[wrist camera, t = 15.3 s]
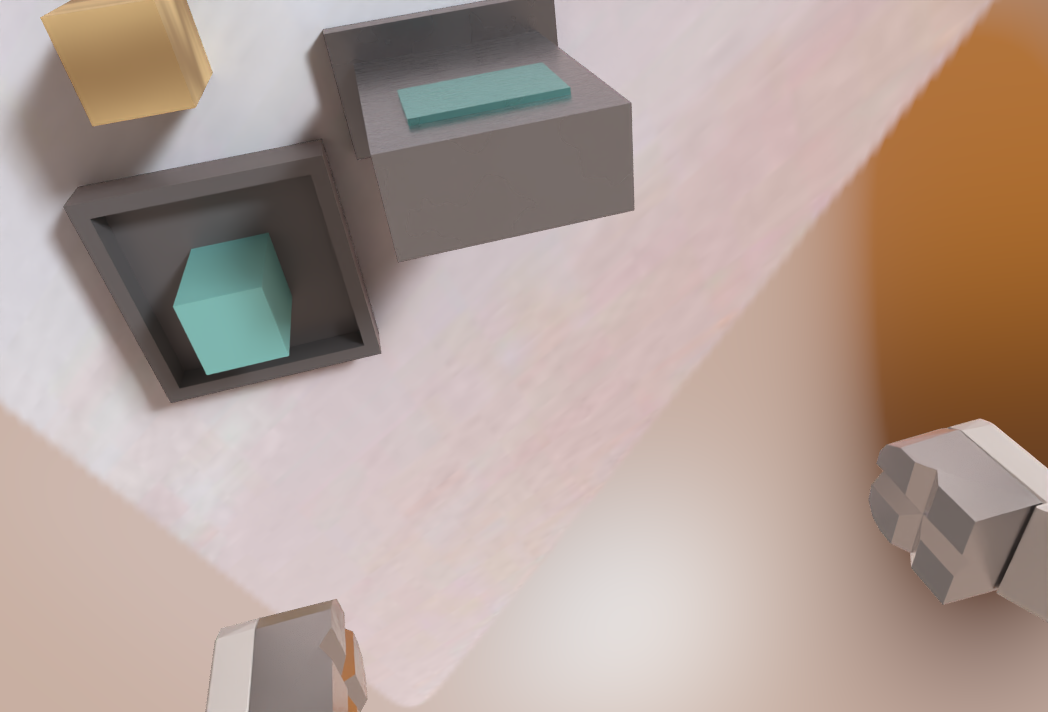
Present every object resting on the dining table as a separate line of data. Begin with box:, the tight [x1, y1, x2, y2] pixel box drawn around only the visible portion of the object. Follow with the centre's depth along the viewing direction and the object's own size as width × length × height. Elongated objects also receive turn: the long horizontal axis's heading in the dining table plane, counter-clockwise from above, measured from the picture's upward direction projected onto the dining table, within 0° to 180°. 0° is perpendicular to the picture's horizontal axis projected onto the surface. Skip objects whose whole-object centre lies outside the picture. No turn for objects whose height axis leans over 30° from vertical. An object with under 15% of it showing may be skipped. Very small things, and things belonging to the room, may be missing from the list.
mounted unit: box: [323, 0, 634, 262], centre depth 30 cm, size 6×11×14 cm, turn 97°
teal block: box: [173, 233, 292, 375], centre depth 36 cm, size 4×4×6 cm
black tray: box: [64, 139, 381, 403], centre depth 38 cm, size 12×12×2 cm
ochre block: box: [41, 0, 213, 126], centre depth 30 cm, size 4×4×6 cm
